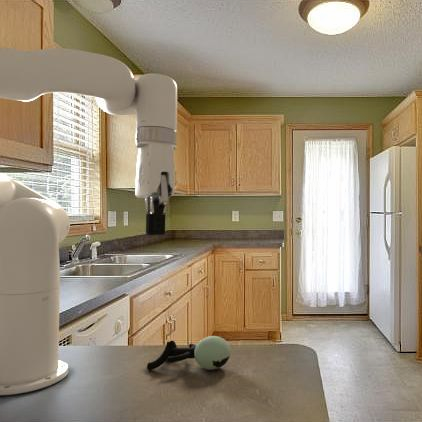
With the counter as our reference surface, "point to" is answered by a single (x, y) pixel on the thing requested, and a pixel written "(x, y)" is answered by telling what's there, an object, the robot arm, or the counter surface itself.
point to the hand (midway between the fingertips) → (155, 234)
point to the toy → (196, 353)
